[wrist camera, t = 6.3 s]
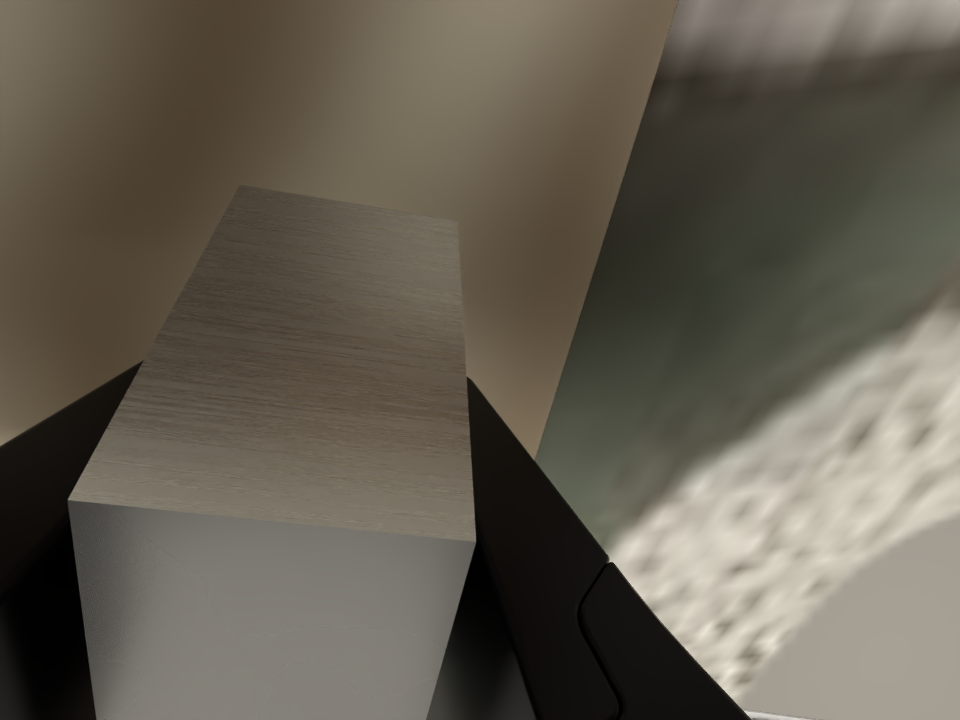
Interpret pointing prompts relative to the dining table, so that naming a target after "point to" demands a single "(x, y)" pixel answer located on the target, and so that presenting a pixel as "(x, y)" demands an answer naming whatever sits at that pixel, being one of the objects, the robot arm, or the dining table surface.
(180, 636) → the bracket
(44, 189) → the arena
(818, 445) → the dining table surface
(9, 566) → the robot arm
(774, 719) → the corner connector
